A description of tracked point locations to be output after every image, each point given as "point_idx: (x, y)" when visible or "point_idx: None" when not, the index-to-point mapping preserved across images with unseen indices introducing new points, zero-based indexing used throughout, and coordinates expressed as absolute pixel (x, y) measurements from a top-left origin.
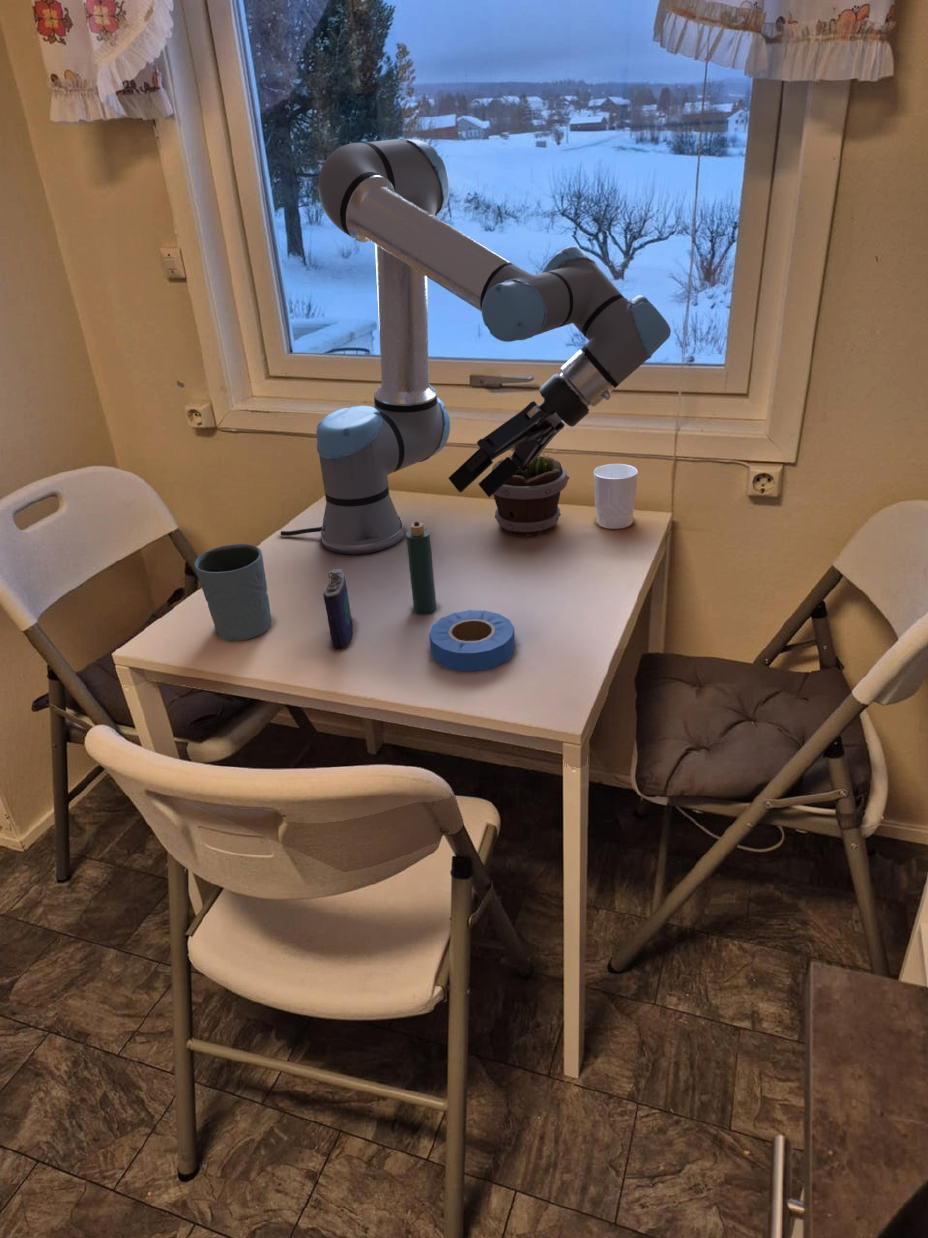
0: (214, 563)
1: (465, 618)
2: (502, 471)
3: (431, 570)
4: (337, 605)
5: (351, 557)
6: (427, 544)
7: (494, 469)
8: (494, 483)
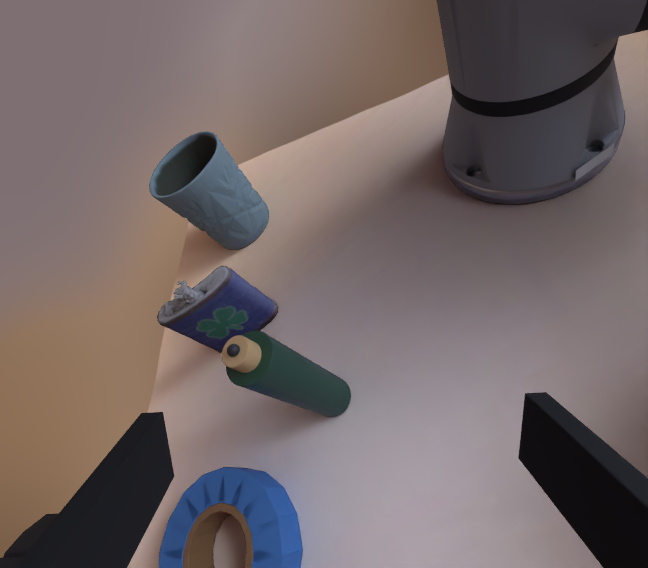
0: (209, 148)
1: (250, 521)
2: (624, 534)
3: (293, 403)
4: (172, 329)
5: (444, 185)
6: (252, 390)
7: (605, 471)
8: (560, 482)
